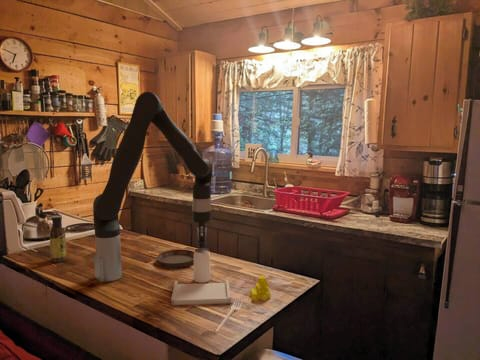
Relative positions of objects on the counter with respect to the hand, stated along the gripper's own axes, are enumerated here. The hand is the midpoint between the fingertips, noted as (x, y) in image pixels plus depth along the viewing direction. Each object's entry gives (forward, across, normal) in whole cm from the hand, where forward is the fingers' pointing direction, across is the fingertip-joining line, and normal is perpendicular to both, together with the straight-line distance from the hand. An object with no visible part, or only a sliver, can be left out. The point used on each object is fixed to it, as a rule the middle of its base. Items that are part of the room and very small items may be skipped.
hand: (202, 251), depth 155 cm
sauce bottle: (+10, +20, +63) cm, 67 cm away
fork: (+10, -36, -9) cm, 38 cm away
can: (+10, -6, 0) cm, 12 cm away
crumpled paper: (+10, -22, -20) cm, 32 cm away
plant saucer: (+10, +15, +11) cm, 21 cm away
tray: (+10, -19, 0) cm, 21 cm away
